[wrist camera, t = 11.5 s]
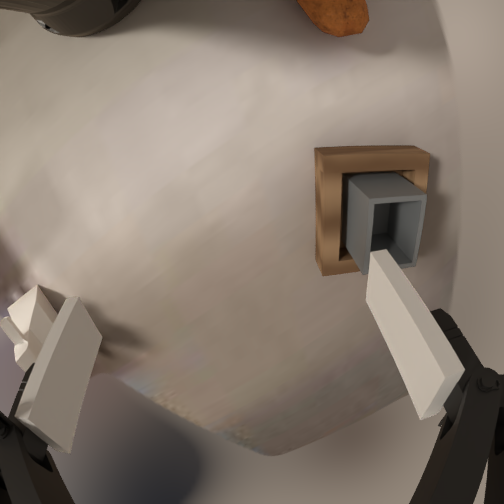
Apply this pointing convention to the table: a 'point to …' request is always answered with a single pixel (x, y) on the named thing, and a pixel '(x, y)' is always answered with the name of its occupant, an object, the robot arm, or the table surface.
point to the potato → (337, 15)
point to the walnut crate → (331, 192)
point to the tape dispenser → (29, 325)
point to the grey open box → (382, 217)
